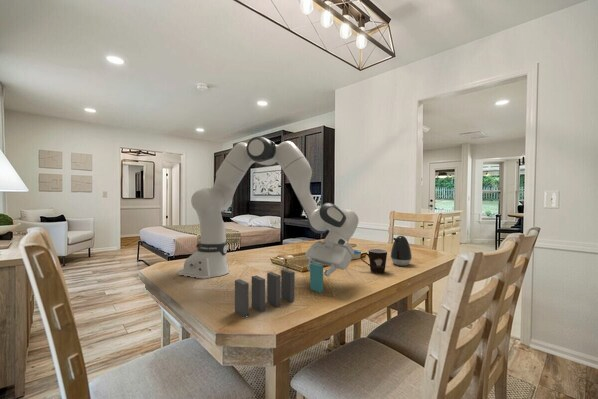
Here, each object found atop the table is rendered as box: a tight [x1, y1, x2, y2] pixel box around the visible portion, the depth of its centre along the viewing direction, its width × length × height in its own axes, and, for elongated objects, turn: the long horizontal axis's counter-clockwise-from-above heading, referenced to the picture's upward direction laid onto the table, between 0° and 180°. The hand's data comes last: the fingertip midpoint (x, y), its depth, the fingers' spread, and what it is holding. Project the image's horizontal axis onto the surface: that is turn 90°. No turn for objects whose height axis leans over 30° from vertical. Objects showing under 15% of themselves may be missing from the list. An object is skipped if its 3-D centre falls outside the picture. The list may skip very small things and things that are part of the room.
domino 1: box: [234, 278, 250, 318], centre depth 83 cm, size 2×5×10 cm, turn 41°
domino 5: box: [309, 262, 324, 294], centre depth 104 cm, size 2×5×10 cm, turn 41°
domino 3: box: [266, 271, 282, 308], centre depth 91 cm, size 2×5×10 cm, turn 41°
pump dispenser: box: [390, 235, 413, 267], centre depth 142 cm, size 10×10×15 cm
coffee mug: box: [359, 248, 388, 275], centre depth 130 cm, size 12×9×10 cm
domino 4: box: [280, 268, 296, 303], centre depth 95 cm, size 2×5×10 cm, turn 41°
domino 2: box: [251, 274, 266, 313], centre depth 87 cm, size 2×5×10 cm, turn 41°
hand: (317, 272), depth 104 cm, fingers open, 8 cm apart
